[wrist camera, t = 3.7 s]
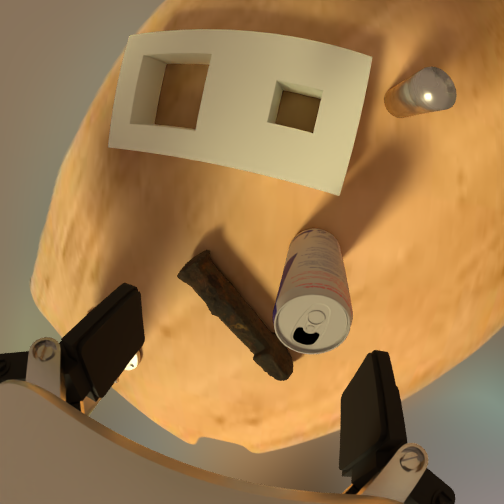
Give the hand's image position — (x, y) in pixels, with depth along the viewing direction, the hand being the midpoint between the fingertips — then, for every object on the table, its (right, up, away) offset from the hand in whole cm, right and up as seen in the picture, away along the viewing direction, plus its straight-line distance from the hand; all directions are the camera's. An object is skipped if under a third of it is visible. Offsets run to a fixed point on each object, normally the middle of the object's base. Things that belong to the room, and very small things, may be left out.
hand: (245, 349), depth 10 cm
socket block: (-1, +18, +13) cm, 22 cm away
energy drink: (+7, +4, +17) cm, 19 cm away
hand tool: (0, -3, +22) cm, 22 cm away
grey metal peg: (+14, +18, +9) cm, 24 cm away
